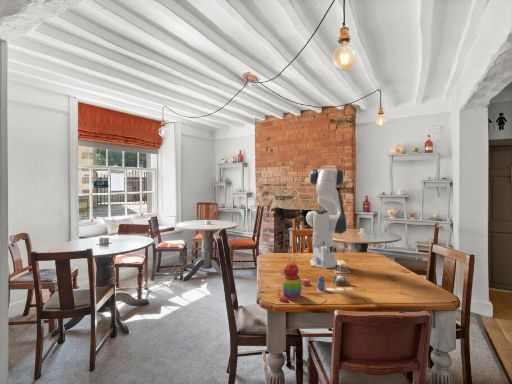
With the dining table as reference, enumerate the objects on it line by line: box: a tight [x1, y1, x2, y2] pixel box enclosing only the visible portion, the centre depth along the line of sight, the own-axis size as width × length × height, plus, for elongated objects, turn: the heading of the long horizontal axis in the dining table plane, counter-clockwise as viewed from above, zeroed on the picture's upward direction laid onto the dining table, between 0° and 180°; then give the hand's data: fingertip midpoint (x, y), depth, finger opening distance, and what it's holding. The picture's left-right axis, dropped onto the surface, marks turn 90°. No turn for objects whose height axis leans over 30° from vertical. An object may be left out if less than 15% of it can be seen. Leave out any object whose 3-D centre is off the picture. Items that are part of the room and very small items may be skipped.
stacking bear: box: [279, 262, 303, 303], centre depth 147 cm, size 11×10×18 cm
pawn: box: [317, 275, 326, 292], centre depth 156 cm, size 4×4×7 cm
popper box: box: [331, 276, 350, 287], centre depth 166 cm, size 7×7×4 cm
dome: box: [336, 275, 344, 280], centre depth 166 cm, size 4×4×4 cm
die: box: [300, 277, 311, 287], centre depth 165 cm, size 4×4×4 cm
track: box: [315, 286, 354, 292], centre depth 157 cm, size 8×22×1 cm, turn 94°
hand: (321, 266), depth 156 cm, fingers open, 8 cm apart
